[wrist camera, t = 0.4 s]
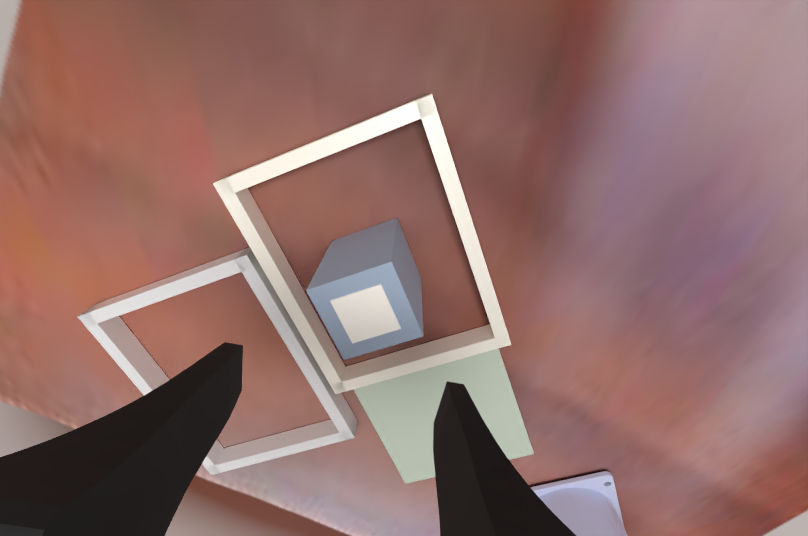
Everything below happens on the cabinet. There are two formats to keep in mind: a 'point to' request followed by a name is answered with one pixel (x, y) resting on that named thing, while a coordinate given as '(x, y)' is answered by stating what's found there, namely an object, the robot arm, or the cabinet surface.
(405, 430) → the green mat
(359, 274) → the slate block
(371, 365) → the cream rectangular frame
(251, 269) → the grey rectangular frame
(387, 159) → the cabinet surface
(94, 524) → the robot arm
